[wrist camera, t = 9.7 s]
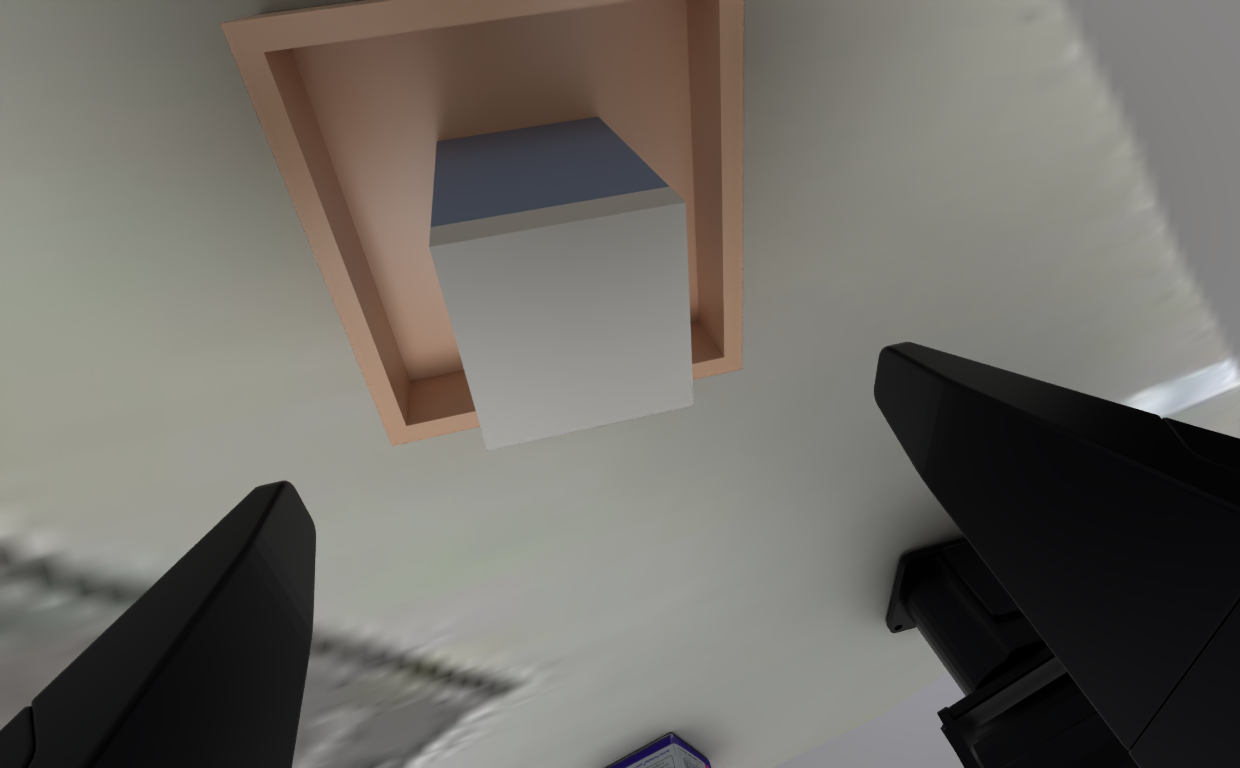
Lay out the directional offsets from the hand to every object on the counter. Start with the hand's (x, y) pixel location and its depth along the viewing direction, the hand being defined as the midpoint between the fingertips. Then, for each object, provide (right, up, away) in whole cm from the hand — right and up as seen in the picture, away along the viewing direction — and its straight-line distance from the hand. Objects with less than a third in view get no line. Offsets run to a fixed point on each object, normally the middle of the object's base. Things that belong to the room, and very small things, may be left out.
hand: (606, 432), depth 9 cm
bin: (-3, +6, +10) cm, 12 cm away
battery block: (-2, +6, +9) cm, 11 cm away
